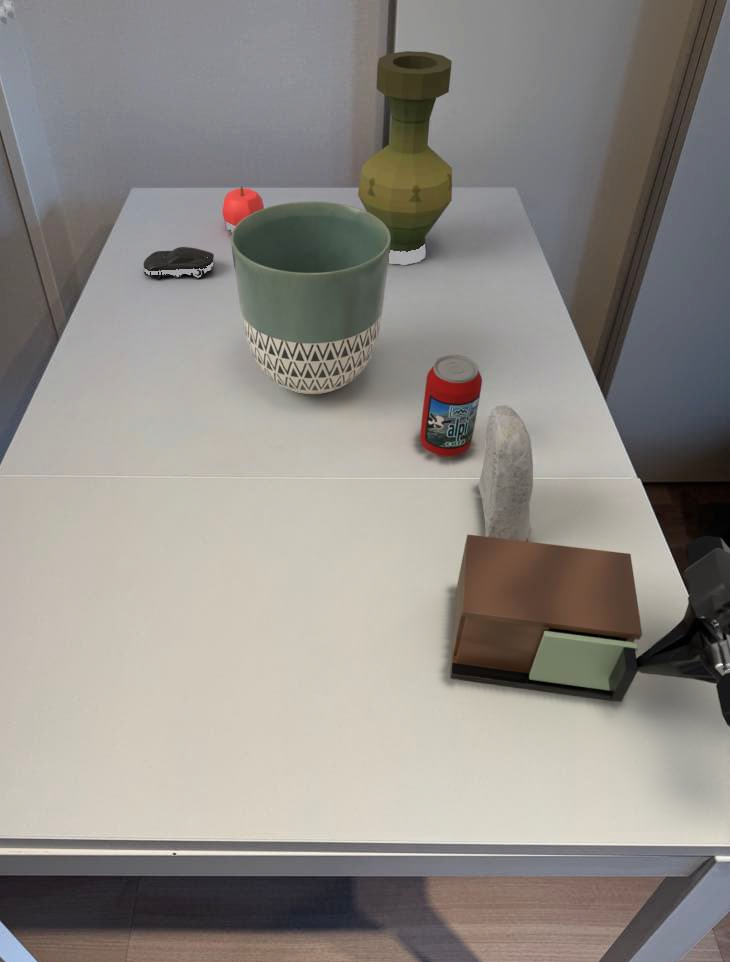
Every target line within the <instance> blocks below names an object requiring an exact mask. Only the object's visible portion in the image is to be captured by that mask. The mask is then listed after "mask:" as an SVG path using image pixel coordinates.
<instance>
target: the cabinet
mask: <svg viewBox="0 0 730 962" xmlns="http://www.w3.org/2000/svg"><path fill="white" fill-rule="evenodd" d="M634 575H635V574H634V568H633V561H632V555H631V553H629V552H628V553H626V552H619V551H609V550H602V549H595V548H586V547H585V548H584V547H577V546H569V545H560V544H551V543H544V542H534V541H527V540H526V541H518V540H510V539H501V538H493V537H485V536H484V535H477V534H476V535H474V534H466V539H465V543H464V549H463V554H462V558H461V563H460V569H459V574H458V578H457V583H456V584H457V585H456V590H455V602H454V615H453V631H452V633H453V634H452V647H451V662H450V663H451V665H450V679H452V680H453V679H454V680H459V681H466V682H474V683H481V684H487V685H488V684H489V685H496V686H503V687H509V688H516V689H517V688H518V689H523V690H524V689H525V690H532V691H539V692H545V693H552V694H559V695H567V696H573V697H580V698H588V699H594V700H595V699H596V700H603V701H610V702H612V701H611V700H610V691H609V690H602V689H595V688H588V687H580V686H573V685H566V684H559V683H551V682H544V681H537V680H530V679H529V674H530V671H531V668H532V665H533V662H534V660H535V657H536V654H537V651H538V648H539V645H540V642H541V640H542V637H543V634H544V631H550V632H557V633H565V634H572V635H580V636H588V637H595V638H603V639H611V640H618V641H626V642H633V643H635V641H636V640H637V641H639V640H641V638H642V636H643V632H642V623H641V617H640V610H639V604H638V597H637V591H636V590H637V589H636V583H635V576H634Z"/></svg>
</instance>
